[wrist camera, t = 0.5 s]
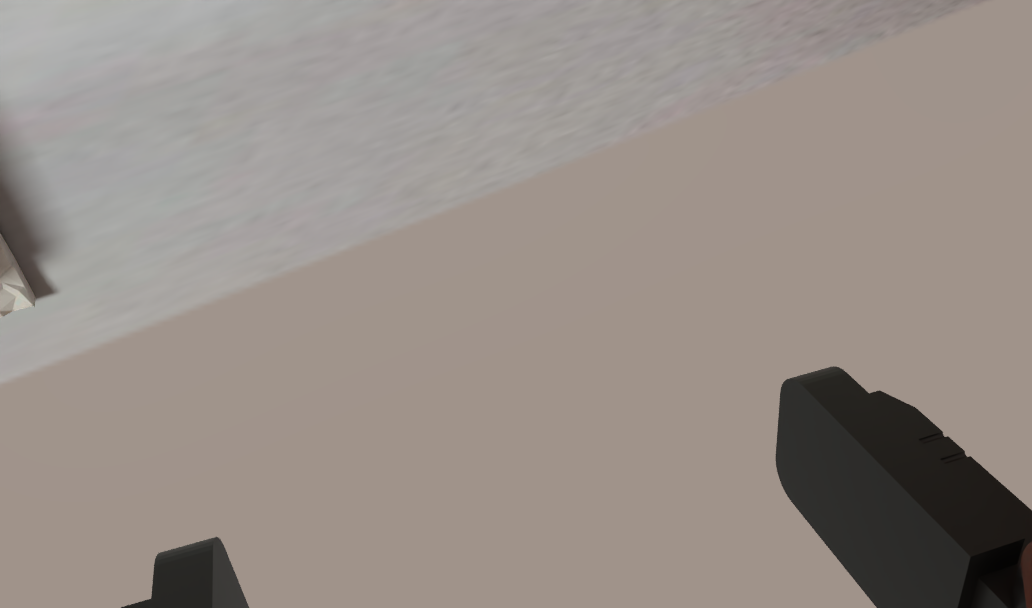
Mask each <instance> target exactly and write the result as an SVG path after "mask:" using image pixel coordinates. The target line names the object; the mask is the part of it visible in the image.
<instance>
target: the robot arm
mask: <svg viewBox="0 0 1032 608" xmlns="http://www.w3.org/2000/svg"><path fill="white" fill-rule="evenodd" d="M776 467H777V472H778V475H779V478H780V481H781V484H782V486H783V488H784V490H785V492H786V494H787V496H788V497H789V499H790V500H791V502H792V503H793V504H794V505H795V507H796V508H797V509H798V510H799V512H800V513H801V514H802V515H803V516H804V518H805V519H806V520H807V521H808V523H809V524H810V525H811V526H812V528H813V529H814V530H815V531H816V533H817V534H818V535H819V536H820V538H821V539H822V540H823V541H824V542H825V544H826V545H827V546H828V548H829V549H830V550H831V551H832V552H833V554H834V555H835V556H836V557H837V559H838V560H839V561H840V562H841V564H842V565H843V566H844V567H845V569H846V570H847V571H848V572H849V574H850V575H851V576H852V577H853V579H854V580H855V581H856V582H857V584H858V585H859V586H860V587H861V589H862V590H863V591H864V592H865V594H866V595H867V596H868V597H869V598H870V600H871V601H872V602H873V603H874V605H875V606H876V607H877V608H1032V510H1031V509H1029V508H1028V507H1027V506H1026V505H1025V504H1024V503H1023V502H1022V501H1020V500H1019V499H1018V498H1017V497H1016V496H1015V495H1014V494H1012V493H1011V492H1010V491H1009V490H1008V489H1007V488H1006V487H1005V486H1003V485H1002V484H1001V483H1000V482H999V481H998V480H996V479H995V478H994V477H993V476H992V475H991V474H989V472H988V471H986V470H985V469H984V468H983V467H982V466H981V465H980V464H979V463H977V462H976V461H975V460H974V459H973V458H972V457H967V456H966V455H965V451H964V450H963V449H962V448H960V447H959V446H958V445H957V444H956V443H955V442H953V440H951V439H950V438H949V437H944V436H943V432H942V431H941V430H940V429H939V428H938V427H937V426H936V425H935V424H933V423H932V422H931V421H930V420H929V419H928V418H927V417H925V416H924V415H923V414H922V413H921V412H920V411H919V410H918V409H916V408H915V407H913V406H911V405H909V404H906V403H904V402H902V401H900V400H898V399H896V398H894V397H892V396H890V395H888V394H886V393H884V392H882V391H876V392H873V393H870V394H869V393H868V392H867V391H866V390H865V389H864V388H862V387H861V386H860V385H859V384H858V383H857V382H856V381H855V380H854V379H853V378H852V377H851V376H850V375H848V374H847V373H846V372H845V371H844V370H842V369H840V368H839V367H829V368H826V369H822V370H818V371H815V372H811V373H808V374H804V375H800V376H797V377H794V378H790V379H787V380H786V381H784V383H783V384H782V387H781V393H780V406H779V420H778V433H777V447H776ZM121 608H249V606H248V604H247V602H246V599H245V597H244V594H243V592H242V589H241V587H240V584H239V582H238V579H237V577H236V574H235V572H234V570H233V567H232V565H231V562H230V560H229V558H228V555H227V552H226V550H225V548H224V545H223V543H222V542H221V540H220V539H219V538H218V537H215V538H211V539H208V540H204V541H200V542H197V543H194V544H190V545H186V546H183V547H179V548H176V549H172V550H168V551H165V552H161V553H159V554H158V555H157V556H156V559H155V564H154V575H153V586H152V598H151V599H149V600H145V601H142V602H138V603H135V604H131V605H128V606H125V607H121Z"/></svg>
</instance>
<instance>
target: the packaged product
mask: <svg viewBox="0 0 1032 608" xmlns="http://www.w3.org/2000/svg"><path fill="white" fill-rule="evenodd" d="M32 306H34V307H35V295H34V293H33V291H32V289H31V288H30V286H29V284H28V282H27V280H26V278H25V276H24V274H23V272H22V271H21V269H20V267H19V265H18V263H17V261H16V259H15V257H14V256H13V254H12V252H11V250H10V249H9V247H8V245H7V244H6V242H5V240H4V239H3V237H2V235H1V233H0V317H3V316H4V315H6V314H8V313H10V312H12V311H16V310H20V309H24V308H28V307H32Z"/></svg>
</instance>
